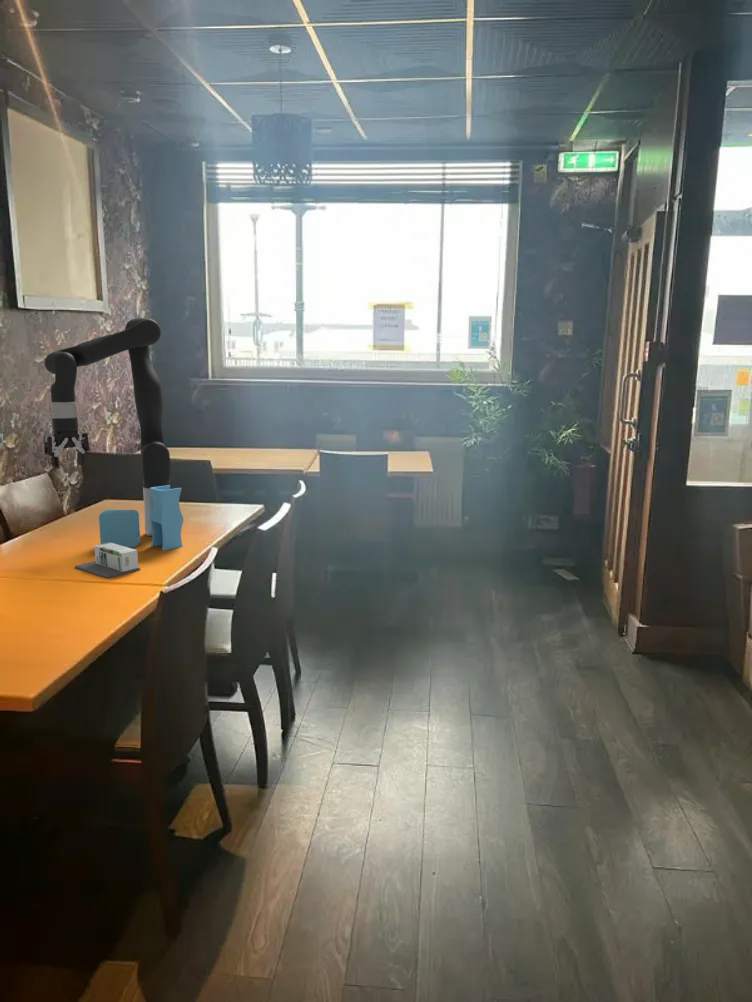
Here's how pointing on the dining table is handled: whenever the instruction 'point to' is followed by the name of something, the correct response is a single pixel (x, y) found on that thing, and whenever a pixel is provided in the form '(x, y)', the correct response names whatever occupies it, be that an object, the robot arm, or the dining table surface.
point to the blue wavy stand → (166, 517)
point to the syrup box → (116, 556)
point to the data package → (120, 527)
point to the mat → (102, 570)
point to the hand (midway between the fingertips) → (68, 466)
